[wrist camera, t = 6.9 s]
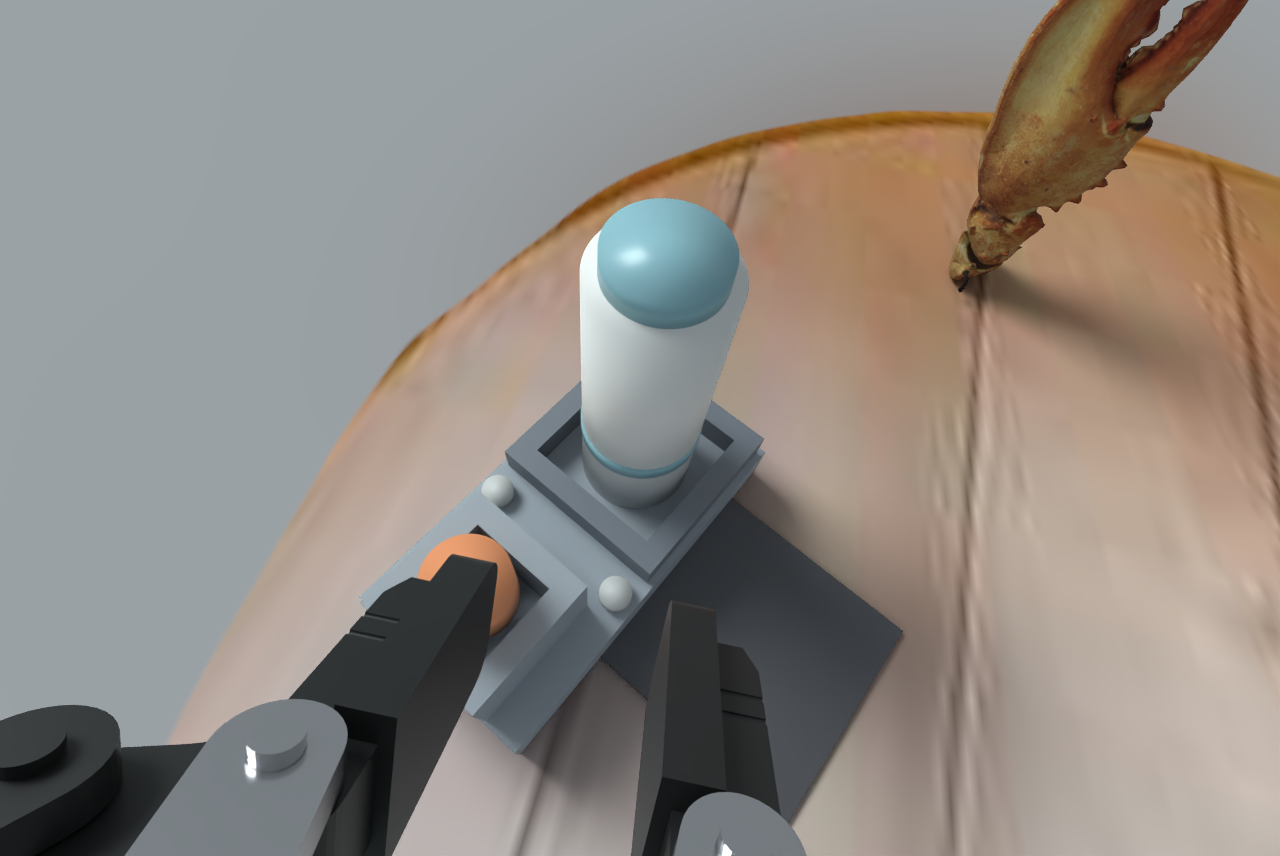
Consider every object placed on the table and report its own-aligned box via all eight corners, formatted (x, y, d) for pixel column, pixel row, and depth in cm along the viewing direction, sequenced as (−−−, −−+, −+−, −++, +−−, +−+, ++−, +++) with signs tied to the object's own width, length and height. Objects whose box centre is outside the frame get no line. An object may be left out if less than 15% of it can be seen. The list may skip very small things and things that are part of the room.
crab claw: (884, 275, 40) (1117, -107, 22) (911, 226, 42) (1142, -156, 25) (989, 324, 39) (1324, -38, 21) (1011, 271, 41) (1331, -98, 23)
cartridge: (629, 393, 32) (655, 160, 19) (709, 455, 30) (793, 247, 18) (559, 462, 30) (538, 251, 17) (642, 531, 28) (684, 357, 16)
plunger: (478, 537, 24) (467, 515, 22) (538, 591, 24) (533, 574, 21) (414, 600, 23) (395, 584, 21) (475, 660, 22) (463, 649, 20)
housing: (622, 374, 35) (628, 305, 30) (752, 472, 33) (784, 417, 28) (377, 609, 28) (328, 575, 23) (520, 754, 26) (503, 753, 21)
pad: (730, 499, 32) (731, 498, 32) (900, 631, 30) (902, 631, 29) (600, 657, 28) (600, 656, 28) (784, 824, 26) (786, 825, 26)
